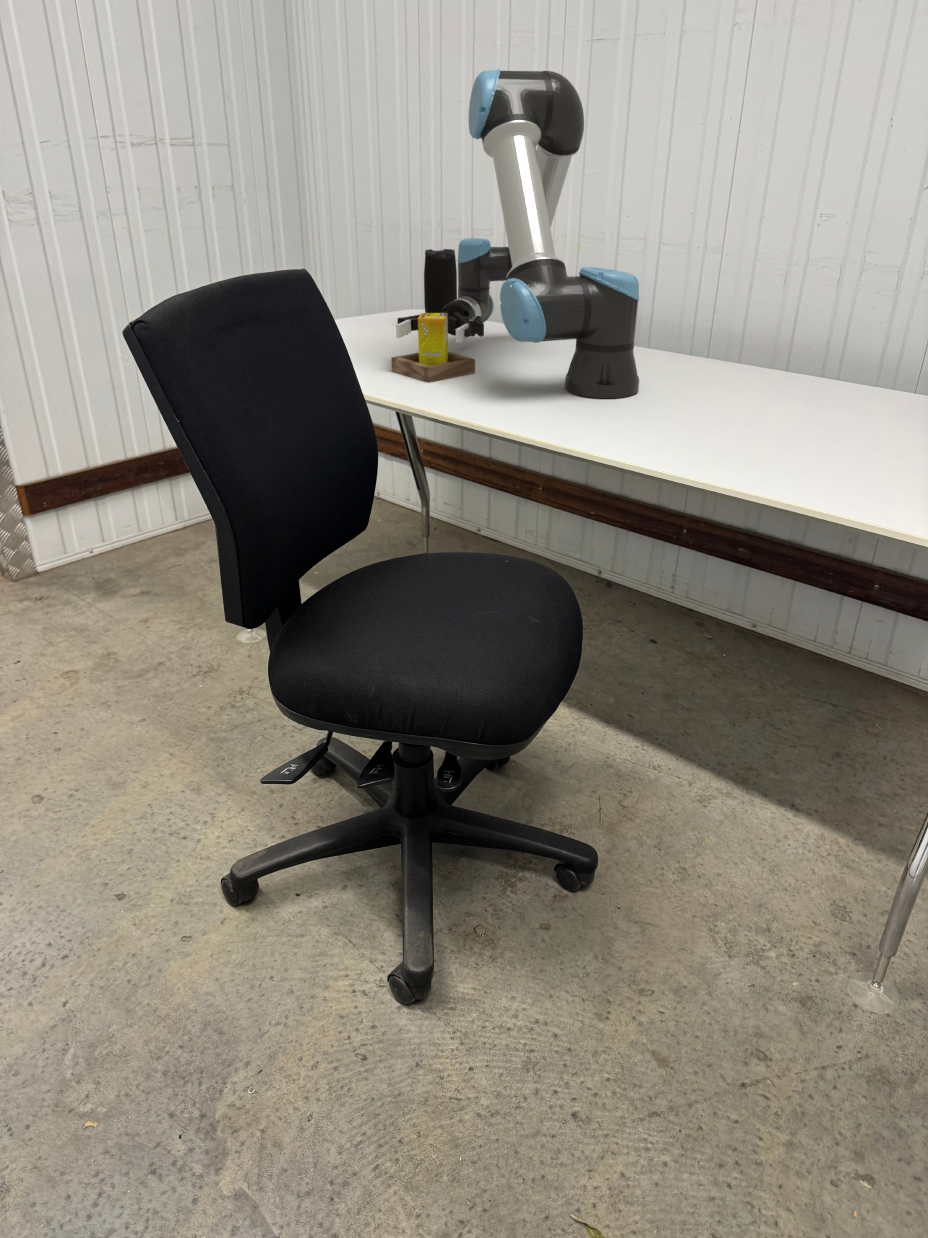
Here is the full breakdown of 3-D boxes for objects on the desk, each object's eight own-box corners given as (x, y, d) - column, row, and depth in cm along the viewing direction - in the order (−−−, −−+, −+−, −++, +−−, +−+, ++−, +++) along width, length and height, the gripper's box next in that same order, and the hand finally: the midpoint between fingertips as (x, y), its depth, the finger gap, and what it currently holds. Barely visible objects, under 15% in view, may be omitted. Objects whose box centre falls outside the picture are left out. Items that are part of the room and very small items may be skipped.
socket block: (474, 372, 196) (475, 358, 194) (429, 382, 188) (428, 368, 187) (437, 362, 204) (437, 348, 203) (392, 371, 197) (391, 357, 195)
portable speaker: (453, 324, 243) (453, 247, 234) (459, 331, 235) (459, 252, 226) (422, 325, 242) (421, 248, 232) (427, 332, 234) (426, 252, 224)
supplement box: (421, 363, 199) (420, 312, 193) (448, 363, 198) (448, 312, 193) (418, 369, 193) (417, 317, 188) (445, 370, 193) (445, 317, 188)
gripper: (511, 336, 205) (482, 356, 188) (411, 329, 212) (374, 347, 195) (512, 302, 201) (483, 319, 184) (410, 296, 209) (372, 311, 191)
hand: (427, 333), depth 189 cm, fingers open, 13 cm apart
